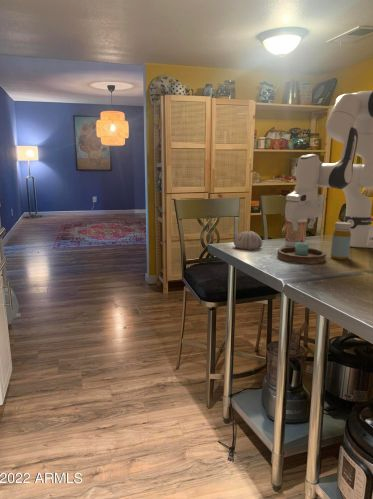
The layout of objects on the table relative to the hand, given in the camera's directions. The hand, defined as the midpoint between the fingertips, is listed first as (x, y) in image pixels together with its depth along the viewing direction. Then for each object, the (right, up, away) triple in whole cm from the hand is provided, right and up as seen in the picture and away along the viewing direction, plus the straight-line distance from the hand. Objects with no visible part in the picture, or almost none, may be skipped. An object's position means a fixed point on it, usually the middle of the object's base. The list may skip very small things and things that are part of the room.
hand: (303, 229), depth 158 cm
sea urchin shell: (-19, -8, +21) cm, 30 cm away
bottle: (+16, -12, +3) cm, 21 cm away
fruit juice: (+4, -7, +28) cm, 29 cm away
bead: (0, -11, +2) cm, 11 cm away
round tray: (0, -12, +2) cm, 12 cm away
